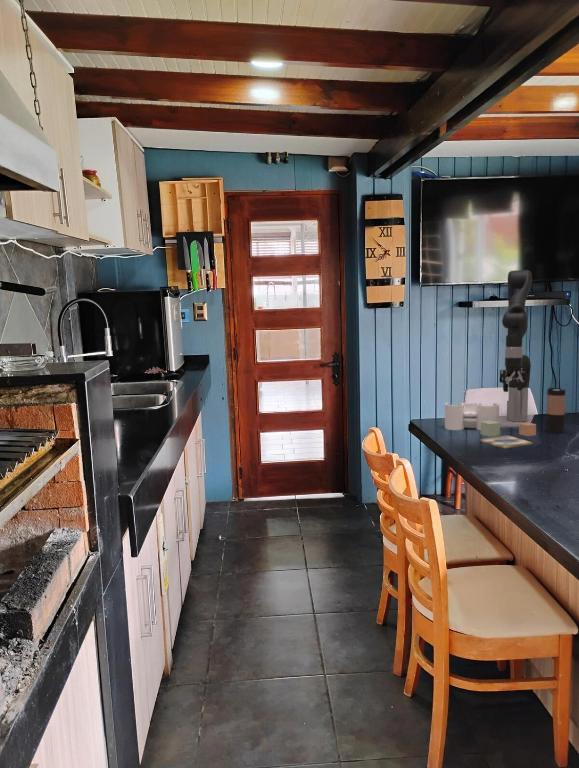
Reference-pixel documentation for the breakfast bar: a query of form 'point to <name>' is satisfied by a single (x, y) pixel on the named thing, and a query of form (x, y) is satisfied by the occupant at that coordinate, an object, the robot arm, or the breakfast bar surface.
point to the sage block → (490, 428)
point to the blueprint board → (506, 441)
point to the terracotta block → (527, 429)
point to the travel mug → (555, 410)
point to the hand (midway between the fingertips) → (512, 391)
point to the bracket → (469, 415)
